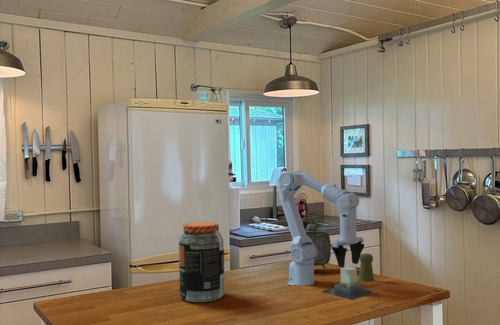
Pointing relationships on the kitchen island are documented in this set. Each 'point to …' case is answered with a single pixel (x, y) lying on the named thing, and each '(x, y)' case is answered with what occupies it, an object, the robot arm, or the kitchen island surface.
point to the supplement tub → (201, 262)
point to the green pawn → (366, 267)
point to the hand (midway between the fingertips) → (348, 265)
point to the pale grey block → (349, 276)
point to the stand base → (348, 291)
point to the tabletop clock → (319, 242)
